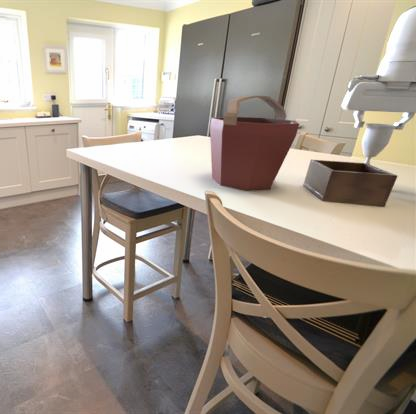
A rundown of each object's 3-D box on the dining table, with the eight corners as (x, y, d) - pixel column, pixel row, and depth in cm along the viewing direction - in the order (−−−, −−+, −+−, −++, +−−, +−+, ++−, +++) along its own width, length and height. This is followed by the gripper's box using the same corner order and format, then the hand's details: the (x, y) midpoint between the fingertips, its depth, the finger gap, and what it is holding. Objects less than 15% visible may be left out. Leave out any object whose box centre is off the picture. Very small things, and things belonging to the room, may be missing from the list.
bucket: (225, 195, 76) (244, 95, 67) (186, 173, 96) (197, 94, 87) (301, 190, 81) (329, 97, 71) (249, 170, 101) (266, 95, 91)
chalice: (371, 190, 82) (396, 126, 75) (342, 184, 87) (363, 124, 80) (375, 185, 87) (399, 125, 80) (347, 180, 92) (367, 122, 85)
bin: (355, 190, 82) (365, 163, 79) (384, 206, 70) (398, 175, 67) (303, 185, 86) (310, 159, 83) (322, 200, 73) (331, 170, 70)
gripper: (358, 74, 75) (340, 127, 81) (455, 75, 70) (429, 132, 76) (346, 75, 81) (330, 125, 86) (435, 76, 76) (412, 129, 81)
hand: (377, 128), depth 81 cm, fingers open, 8 cm apart
